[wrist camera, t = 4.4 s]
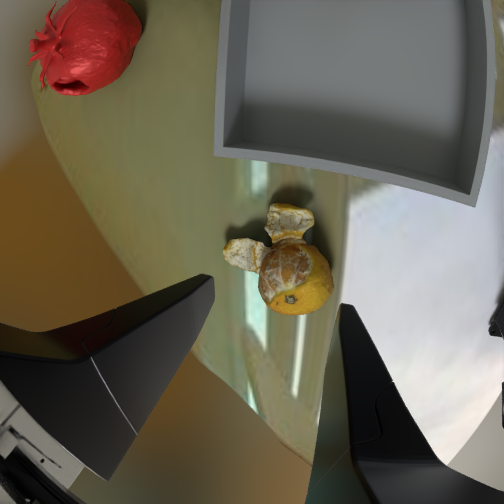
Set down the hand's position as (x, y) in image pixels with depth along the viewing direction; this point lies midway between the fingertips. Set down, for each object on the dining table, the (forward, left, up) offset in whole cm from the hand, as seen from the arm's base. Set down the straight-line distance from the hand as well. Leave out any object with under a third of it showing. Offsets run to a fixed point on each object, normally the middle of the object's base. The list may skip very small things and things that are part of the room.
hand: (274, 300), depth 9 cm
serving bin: (-2, -11, -13) cm, 17 cm away
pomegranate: (+19, -13, -13) cm, 26 cm away
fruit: (+5, +4, -14) cm, 15 cm away
